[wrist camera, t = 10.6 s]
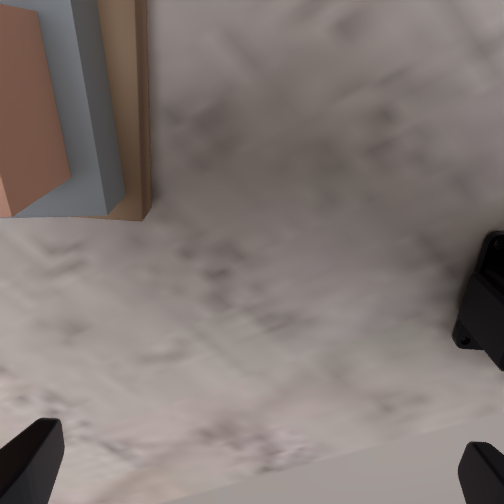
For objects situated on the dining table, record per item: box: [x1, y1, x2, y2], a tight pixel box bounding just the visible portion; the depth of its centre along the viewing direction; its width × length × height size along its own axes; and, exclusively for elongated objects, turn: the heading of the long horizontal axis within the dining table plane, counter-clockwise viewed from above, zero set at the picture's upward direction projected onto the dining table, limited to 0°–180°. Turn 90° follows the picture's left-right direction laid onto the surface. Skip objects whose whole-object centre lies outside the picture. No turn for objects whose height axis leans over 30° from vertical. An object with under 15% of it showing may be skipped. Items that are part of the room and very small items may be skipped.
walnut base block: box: [70, 0, 151, 221], centre depth 17 cm, size 10×10×2 cm
